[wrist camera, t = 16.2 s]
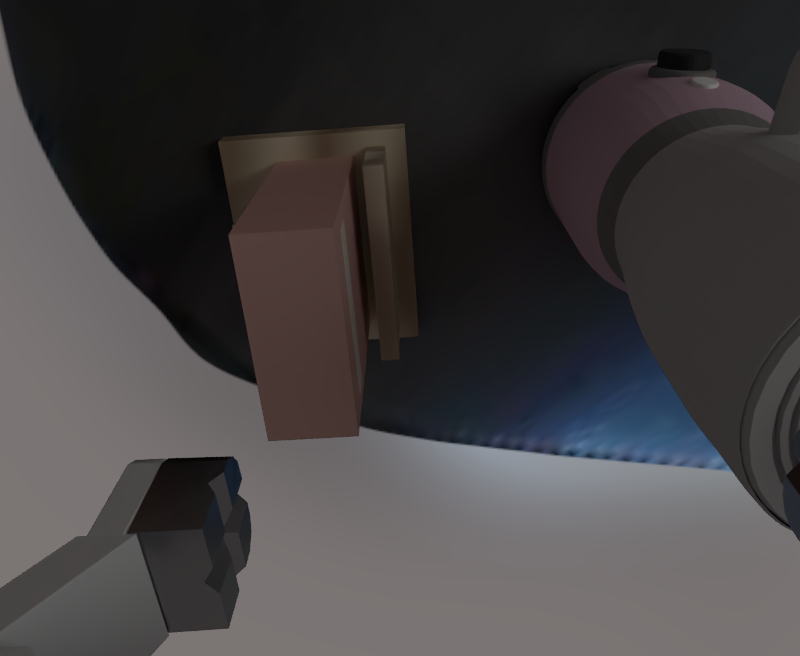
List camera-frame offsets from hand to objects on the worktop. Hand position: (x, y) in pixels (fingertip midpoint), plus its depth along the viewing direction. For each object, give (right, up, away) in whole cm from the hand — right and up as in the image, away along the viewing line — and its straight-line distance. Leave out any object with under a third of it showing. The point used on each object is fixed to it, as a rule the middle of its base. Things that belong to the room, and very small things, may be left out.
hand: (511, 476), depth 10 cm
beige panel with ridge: (-7, +9, +39) cm, 41 cm away
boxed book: (-7, +8, +38) cm, 40 cm away
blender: (+14, +15, +36) cm, 41 cm away
